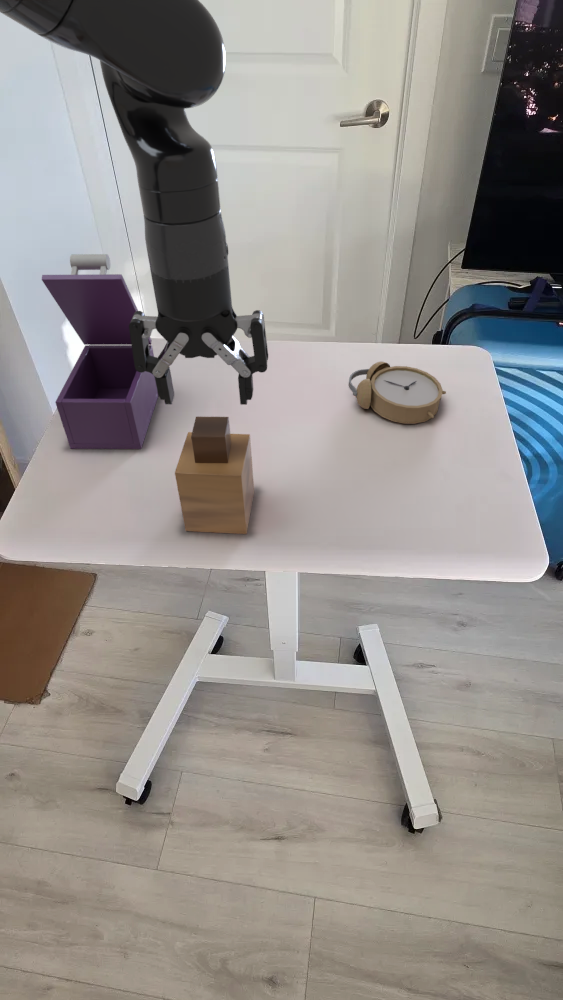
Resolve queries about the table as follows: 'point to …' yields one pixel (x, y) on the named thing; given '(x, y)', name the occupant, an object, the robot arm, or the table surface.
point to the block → (211, 439)
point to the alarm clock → (398, 392)
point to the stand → (216, 489)
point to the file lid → (94, 301)
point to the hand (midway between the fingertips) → (207, 400)
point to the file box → (107, 399)
